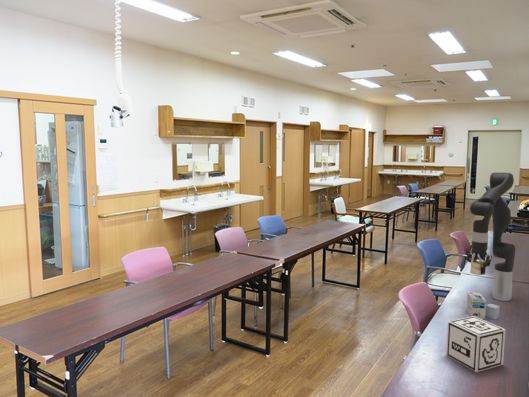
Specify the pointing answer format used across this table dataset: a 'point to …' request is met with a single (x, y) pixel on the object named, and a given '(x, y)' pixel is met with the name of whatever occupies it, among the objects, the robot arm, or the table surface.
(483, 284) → the table surface
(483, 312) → the light bulb box
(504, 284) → the robot arm
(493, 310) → the grey-blue block
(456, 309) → the table surface
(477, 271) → the maple block
